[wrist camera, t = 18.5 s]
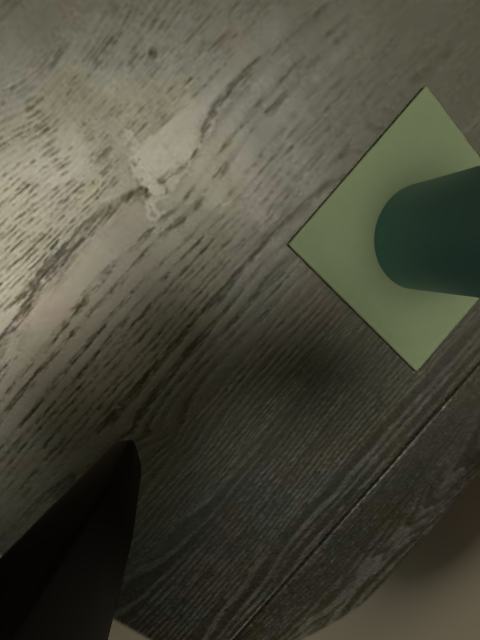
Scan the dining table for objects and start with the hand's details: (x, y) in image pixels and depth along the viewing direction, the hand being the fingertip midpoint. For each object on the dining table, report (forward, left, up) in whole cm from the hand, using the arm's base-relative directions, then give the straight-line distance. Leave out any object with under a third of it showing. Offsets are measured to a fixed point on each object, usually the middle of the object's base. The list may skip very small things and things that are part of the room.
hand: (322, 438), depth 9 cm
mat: (+3, -12, -11) cm, 17 cm away
